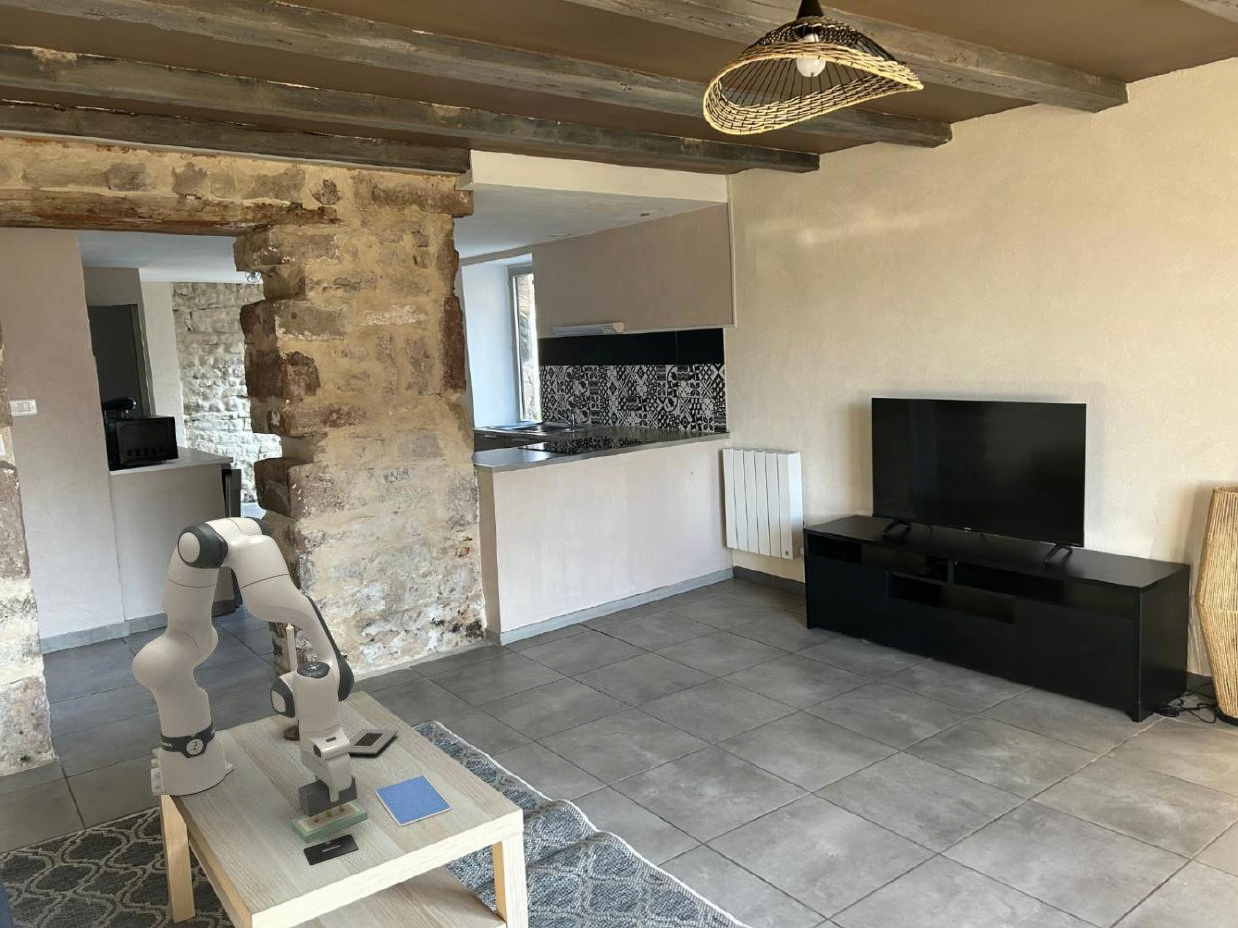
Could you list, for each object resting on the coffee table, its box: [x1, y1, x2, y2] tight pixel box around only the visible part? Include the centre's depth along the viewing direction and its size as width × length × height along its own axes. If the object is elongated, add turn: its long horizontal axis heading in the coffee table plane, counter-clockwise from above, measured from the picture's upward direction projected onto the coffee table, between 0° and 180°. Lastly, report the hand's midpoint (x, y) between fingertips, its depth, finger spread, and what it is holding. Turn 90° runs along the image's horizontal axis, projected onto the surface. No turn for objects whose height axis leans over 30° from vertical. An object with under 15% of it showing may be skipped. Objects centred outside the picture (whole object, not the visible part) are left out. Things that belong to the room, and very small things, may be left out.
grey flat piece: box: [348, 728, 399, 756], centre depth 237 cm, size 13×10×2 cm
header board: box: [290, 800, 369, 844], centre depth 200 cm, size 9×14×4 cm, turn 130°
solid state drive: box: [302, 833, 360, 866], centre depth 189 cm, size 7×10×1 cm
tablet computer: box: [374, 775, 453, 828], centre depth 207 cm, size 19×13×1 cm, turn 32°
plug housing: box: [297, 774, 358, 817], centre depth 199 cm, size 5×11×5 cm, turn 130°
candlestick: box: [283, 623, 300, 742], centre depth 245 cm, size 11×11×35 cm
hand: (328, 795), depth 199 cm, fingers closed on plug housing, 5 cm apart
